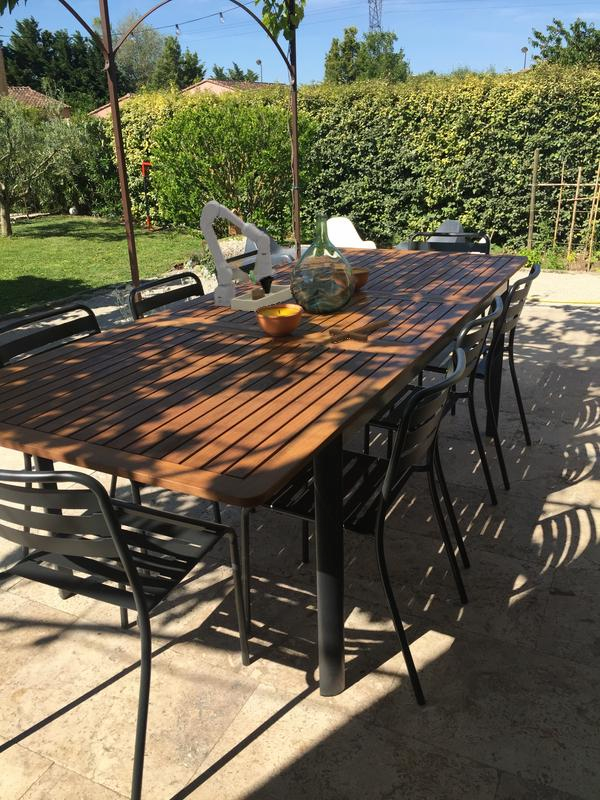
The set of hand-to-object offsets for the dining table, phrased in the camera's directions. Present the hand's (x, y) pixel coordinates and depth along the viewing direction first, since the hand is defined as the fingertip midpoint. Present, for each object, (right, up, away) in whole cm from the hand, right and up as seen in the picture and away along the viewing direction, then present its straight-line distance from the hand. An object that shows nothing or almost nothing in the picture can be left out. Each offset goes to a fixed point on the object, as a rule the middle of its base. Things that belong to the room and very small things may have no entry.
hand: (267, 293), depth 284 cm
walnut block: (-3, -3, -5) cm, 7 cm away
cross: (+37, -24, -54) cm, 70 cm away
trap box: (-1, -4, 0) cm, 4 cm away
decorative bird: (-10, +11, +40) cm, 43 cm away
